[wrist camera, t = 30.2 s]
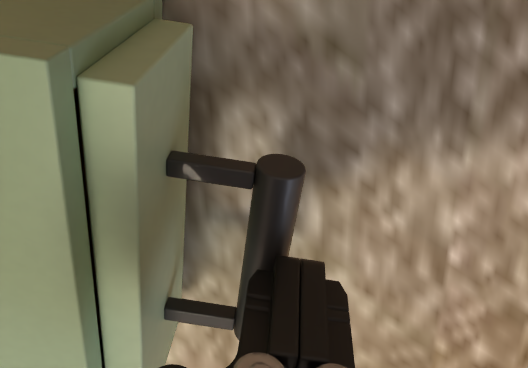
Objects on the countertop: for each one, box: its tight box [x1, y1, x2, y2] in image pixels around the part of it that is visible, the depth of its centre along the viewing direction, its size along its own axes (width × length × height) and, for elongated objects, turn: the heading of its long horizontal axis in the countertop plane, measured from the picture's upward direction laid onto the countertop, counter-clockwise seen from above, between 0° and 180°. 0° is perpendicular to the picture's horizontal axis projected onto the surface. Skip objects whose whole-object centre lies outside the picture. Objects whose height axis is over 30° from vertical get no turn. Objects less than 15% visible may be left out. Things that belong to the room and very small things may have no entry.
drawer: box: [73, 19, 306, 368], centre depth 15 cm, size 18×13×5 cm
